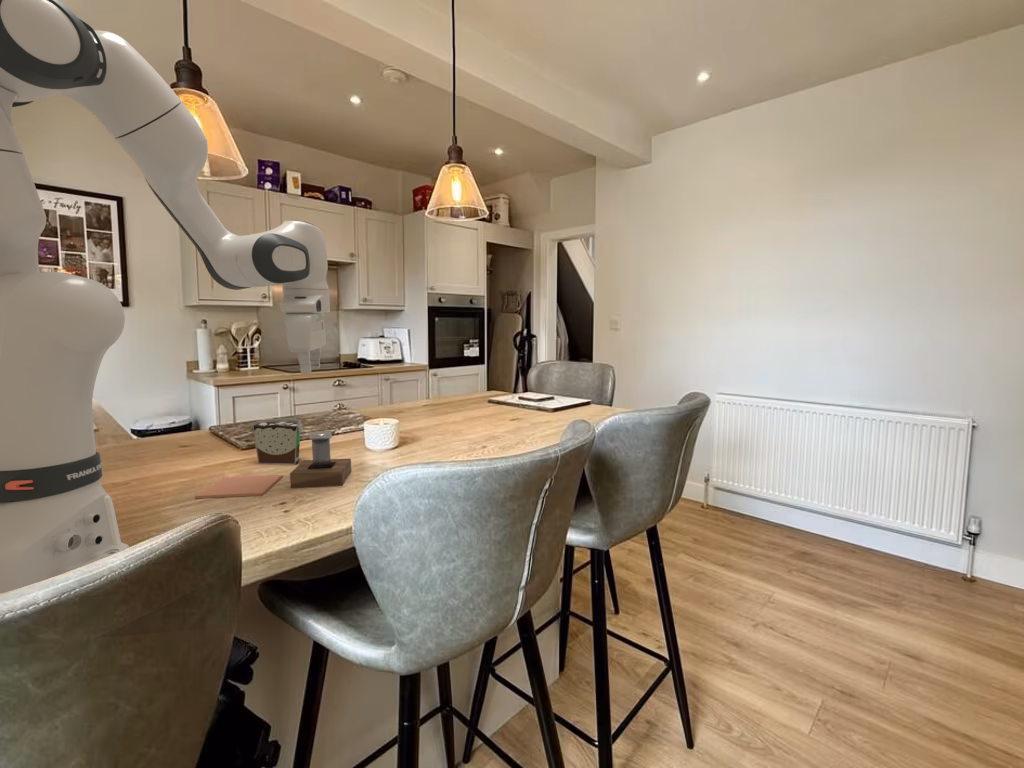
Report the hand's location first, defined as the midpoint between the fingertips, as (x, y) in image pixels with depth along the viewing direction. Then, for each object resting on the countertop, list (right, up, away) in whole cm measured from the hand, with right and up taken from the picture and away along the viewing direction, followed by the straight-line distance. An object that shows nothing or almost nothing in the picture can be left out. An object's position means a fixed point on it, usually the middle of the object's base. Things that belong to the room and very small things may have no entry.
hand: (311, 371), depth 102 cm
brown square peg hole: (+2, -23, +2) cm, 23 cm away
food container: (-14, -22, +17) cm, 31 cm away
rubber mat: (-13, -24, -3) cm, 27 cm away
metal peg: (+2, -23, +2) cm, 23 cm away
